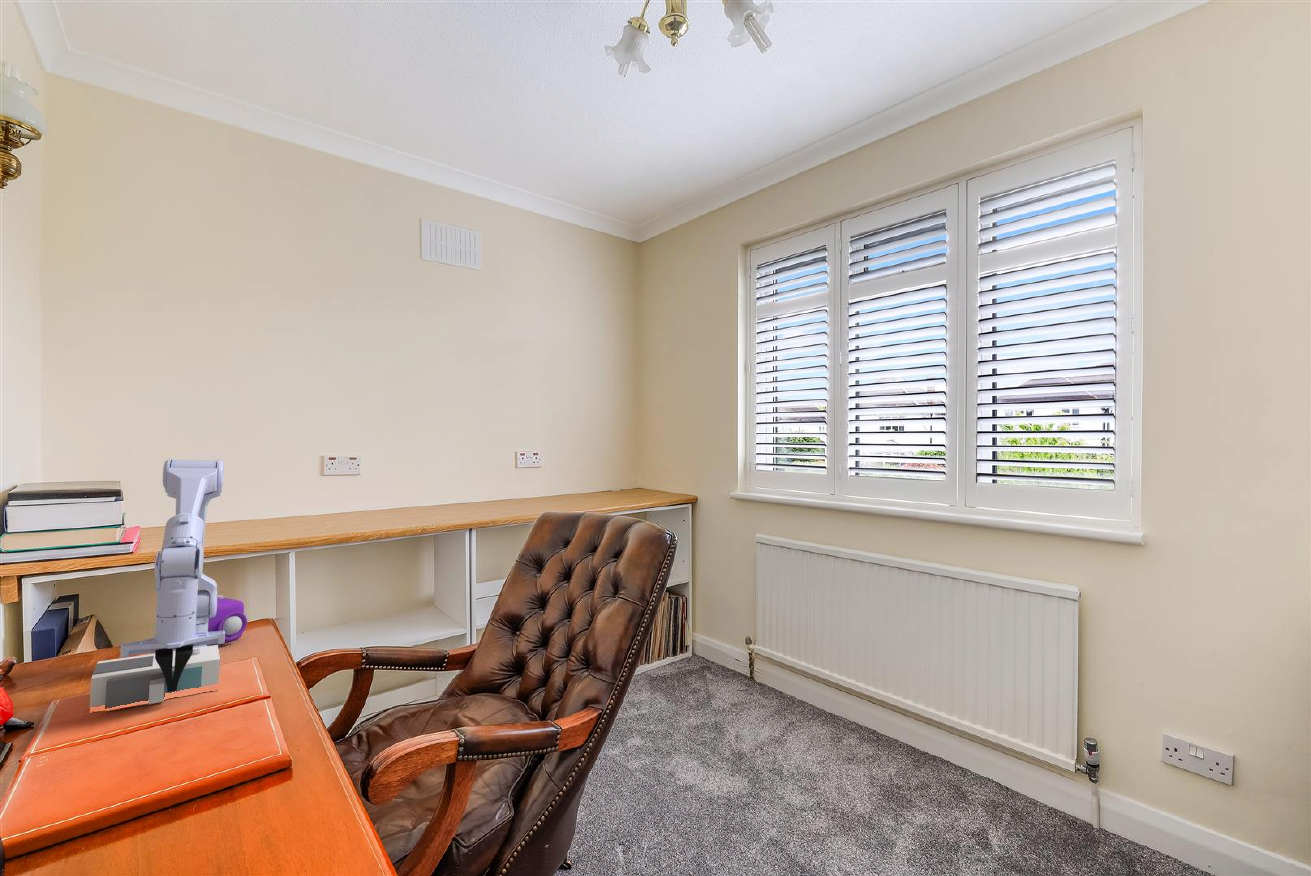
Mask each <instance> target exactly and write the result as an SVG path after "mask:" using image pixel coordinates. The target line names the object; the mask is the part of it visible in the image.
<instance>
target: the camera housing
mask: <svg viewBox="0 0 1311 876" xmlns="http://www.w3.org/2000/svg"><path fill="white" fill-rule="evenodd" d="M220 667H221V658H220V651H219V644H217V645H213V646H206V647H199V648H193V653H192V655H191V657H190V659H189V660H188V662H187V664H186V666H185V668H184V670H183V672H182V674H181V677H180V679H179V682H178V686H177V691H180V690H184V689H190V688H199V687H203V686H209V685H213V684H219V685H220V682H219V681H220ZM174 668H175V651H173V664H172V676H173V674H174ZM158 671H162V670H161V668H160V666H159V665H158V663H157V661H156V659H155V653H148V654H140V655H136V656H135V655H133V656H128V657H123V658H120V657H119V658H114V659H107V660H100V661H97V663H96V664H95V667H94V669H93V673H92V675H91V679H90V693H89V708H91V707H99V706H102V705H105V700H106V684H107V679H113V678H119V677H126V676H132V675H139V674H145V673H152V672H158ZM177 691H176V692H177ZM172 692H175V691H172ZM172 692H167V684H166V690H165V693H172Z"/></svg>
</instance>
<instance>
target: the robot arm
mask: <svg viewBox="0 0 1311 876" xmlns="http://www.w3.org/2000/svg"><path fill="white" fill-rule="evenodd" d="M224 463H225V462H224V461H222V459H217V460H216V459H215V460H214V459H211V460H210V459H209V460H208V459H173V458H168V459H167V460H165V461H164V462H163V469H162V486H163V487H164V492H165V493H166V494H167V497H168V498H173V499H175V515H174V516H171V517H170V518H169V519H168V520H167V521H166V524H165V527H164V534H163V538H162V539H163V540H162V544H161V545H162V546H161V551H160V550H157V553H156V555H155V559H154V578H155V591H156V592H157V593H156V609H155V610H156V611H155V622H154V625H155V626H154V637H151V638H147V639H141V640H136V641H131V642H130V641H129V642H125V643H121V644H120V652H119V653H120V654H119V659H120V658H127V657H130V656H135V655H136V656H138V655H145V654H152V653H154V654H155V659H156V661H157V663H158V665H159V666H160V668H161V670H162V672H163V674H164V677H165V680H166V684H167V692H172V691H177V686H178V682H179V679H180V677H181V674H182V672H183V670H184V668H185V666H186V664H187V662H188V660H189V659H190V657H191V655H192V653H193V648H199V647H206V646H207V645H209V644H216V643H217V645H222V644H225V643H226V642H225V631H215V632H208V621H209V618H213V617H214V616H215V615H216V610H217V596H218V583H217V582H216V580H214V579H213V578H212V577H209V576H207V575H206V574H204V573H203V571H204V570H203V569H204V555H205V537H206V522H207V508H208V505H209V503H210V502H211V500H213V499H215V498H218V497H220V496H221V493H222V492H223V486H224V485H223V484H224V473H225V471H224V470H225V464H224ZM224 642H225V643H224ZM173 651H175V668H174V674H173V676H172V664H173Z"/></svg>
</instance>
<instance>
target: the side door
mask: <svg viewBox="0 0 1311 876" xmlns="http://www.w3.org/2000/svg"><path fill="white" fill-rule="evenodd" d="M165 690H166V680H165V677H164V674H163V672H162V671H158V672H152V673H145V674H139V675H132V676H126V677H119V678H113V679H107V684H106V700H105V709H107V708H112V707H116V706H120V705H127V704H131V703H135V702H140V701H148V700H149V703H148V704H147V705H152V704H156V703H157V704H158V703H163V702H164V701H163V699H164V697H165Z"/></svg>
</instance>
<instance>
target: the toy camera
mask: <svg viewBox="0 0 1311 876" xmlns="http://www.w3.org/2000/svg"><path fill="white" fill-rule="evenodd" d="M247 626H248V619H247V616H246V614H245V605H244V602H243V601H241V600H238V599H233V598H229V597H224V595H223V594H221V595H220V594H217V610H216V615H215V616H214V617H213V618H209V621H208V632H215V631H225V642H224V643H223V644H225V643H229V642H231V641H235V640H237V639H240V638H241V637H242V635H243V633H244V632H245V630H246V628H247ZM213 645H218V644H217V643H216V644H209V645H207V646H213Z"/></svg>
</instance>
